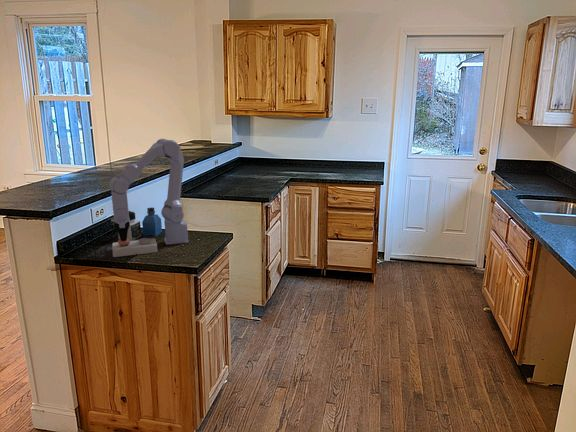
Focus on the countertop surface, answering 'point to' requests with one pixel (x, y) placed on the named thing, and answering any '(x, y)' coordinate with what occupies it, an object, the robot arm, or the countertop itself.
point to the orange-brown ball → (124, 242)
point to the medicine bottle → (133, 227)
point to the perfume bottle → (152, 223)
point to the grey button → (144, 241)
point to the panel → (134, 248)
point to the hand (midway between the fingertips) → (123, 240)
